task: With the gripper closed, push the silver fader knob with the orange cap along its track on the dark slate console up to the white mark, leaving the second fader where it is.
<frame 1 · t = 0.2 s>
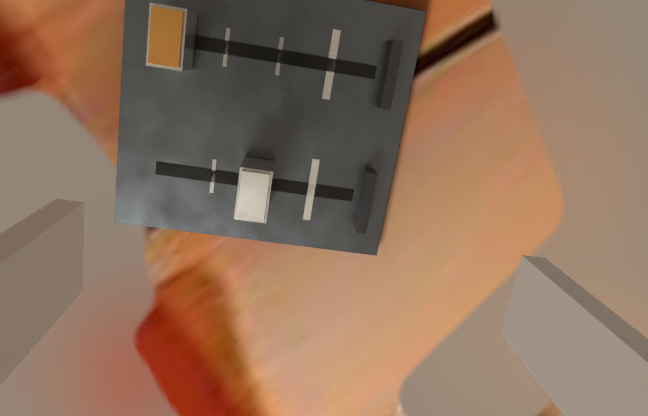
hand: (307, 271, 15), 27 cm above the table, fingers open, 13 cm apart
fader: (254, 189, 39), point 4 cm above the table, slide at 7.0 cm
console: (265, 119, 41), on the table
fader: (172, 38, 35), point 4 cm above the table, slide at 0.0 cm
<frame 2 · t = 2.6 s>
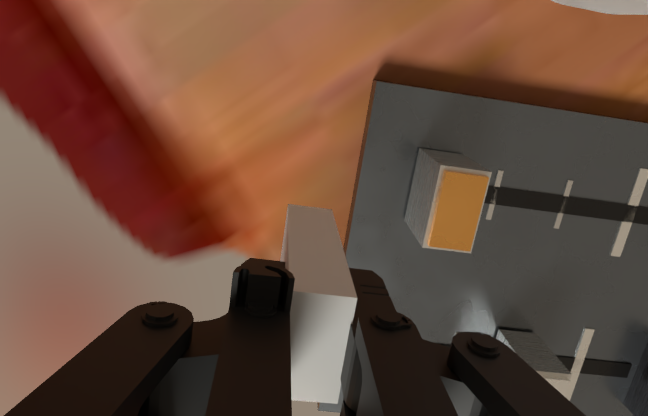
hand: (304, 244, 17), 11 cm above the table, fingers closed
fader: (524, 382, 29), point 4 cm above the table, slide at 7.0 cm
console: (520, 275, 31), on the table
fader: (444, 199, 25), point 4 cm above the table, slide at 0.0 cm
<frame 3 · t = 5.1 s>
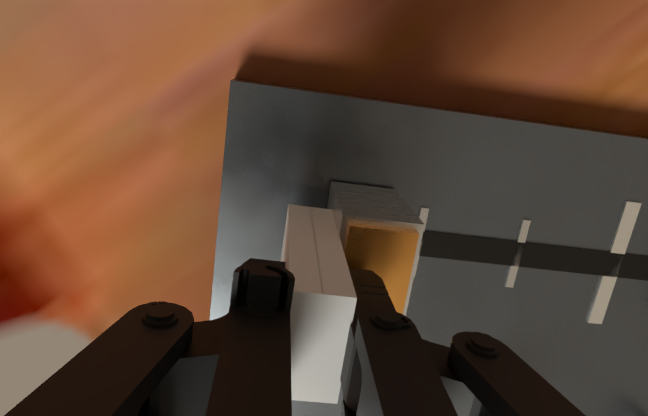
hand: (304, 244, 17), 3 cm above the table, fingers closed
console: (466, 347, 22), on the table
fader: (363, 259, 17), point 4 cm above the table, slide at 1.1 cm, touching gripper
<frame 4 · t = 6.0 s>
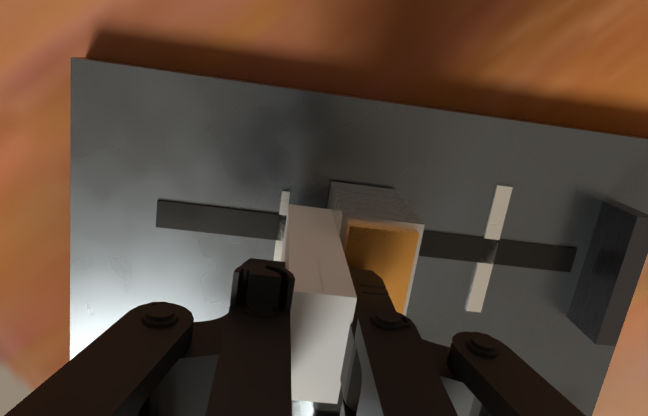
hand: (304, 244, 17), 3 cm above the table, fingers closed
console: (349, 337, 22), on the table
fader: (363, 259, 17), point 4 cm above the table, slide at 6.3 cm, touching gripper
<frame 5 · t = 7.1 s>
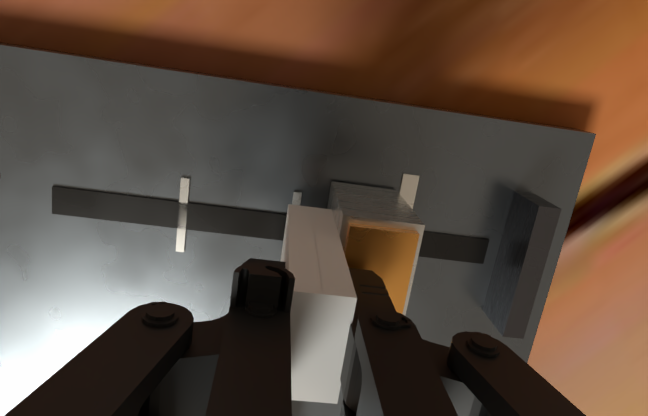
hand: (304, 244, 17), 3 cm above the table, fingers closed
console: (264, 329, 21), on the table
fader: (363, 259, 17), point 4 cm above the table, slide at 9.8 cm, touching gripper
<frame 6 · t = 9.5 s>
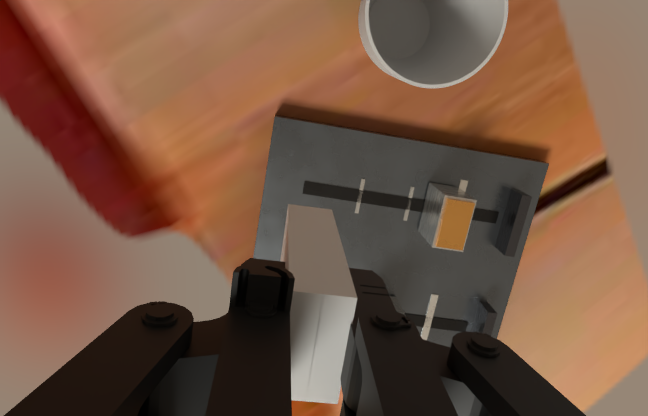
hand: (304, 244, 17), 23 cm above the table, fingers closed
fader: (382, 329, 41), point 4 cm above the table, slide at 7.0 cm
console: (386, 255, 43), on the table
cup: (397, 26, 38), on the table
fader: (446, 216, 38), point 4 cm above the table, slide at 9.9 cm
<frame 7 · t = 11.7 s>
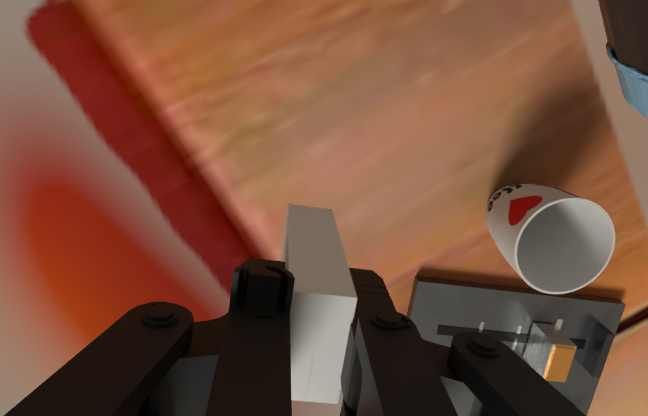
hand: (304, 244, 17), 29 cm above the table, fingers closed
console: (495, 371, 54), on the table
cup: (510, 209, 49), on the table
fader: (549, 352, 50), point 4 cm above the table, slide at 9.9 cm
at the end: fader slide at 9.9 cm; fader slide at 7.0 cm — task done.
